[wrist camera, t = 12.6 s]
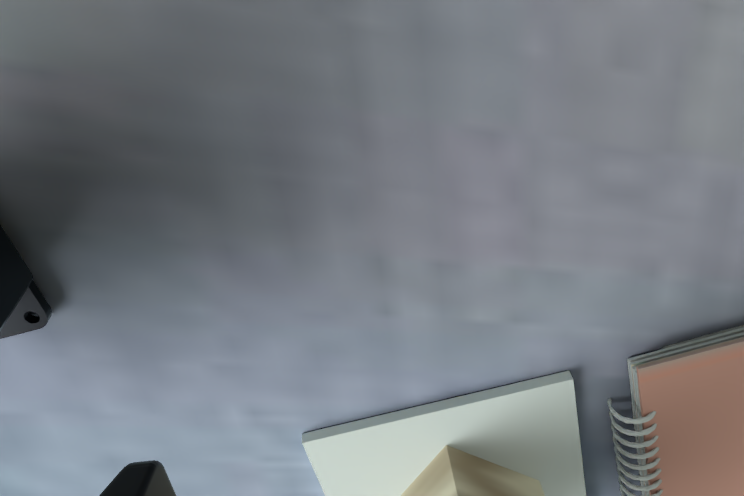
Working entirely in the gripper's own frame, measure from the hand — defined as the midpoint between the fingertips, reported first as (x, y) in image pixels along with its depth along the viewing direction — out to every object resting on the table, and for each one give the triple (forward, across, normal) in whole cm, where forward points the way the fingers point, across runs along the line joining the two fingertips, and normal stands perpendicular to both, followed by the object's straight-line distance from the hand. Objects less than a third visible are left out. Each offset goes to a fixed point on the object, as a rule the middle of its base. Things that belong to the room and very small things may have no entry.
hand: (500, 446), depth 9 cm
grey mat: (+13, 0, +18) cm, 22 cm away
